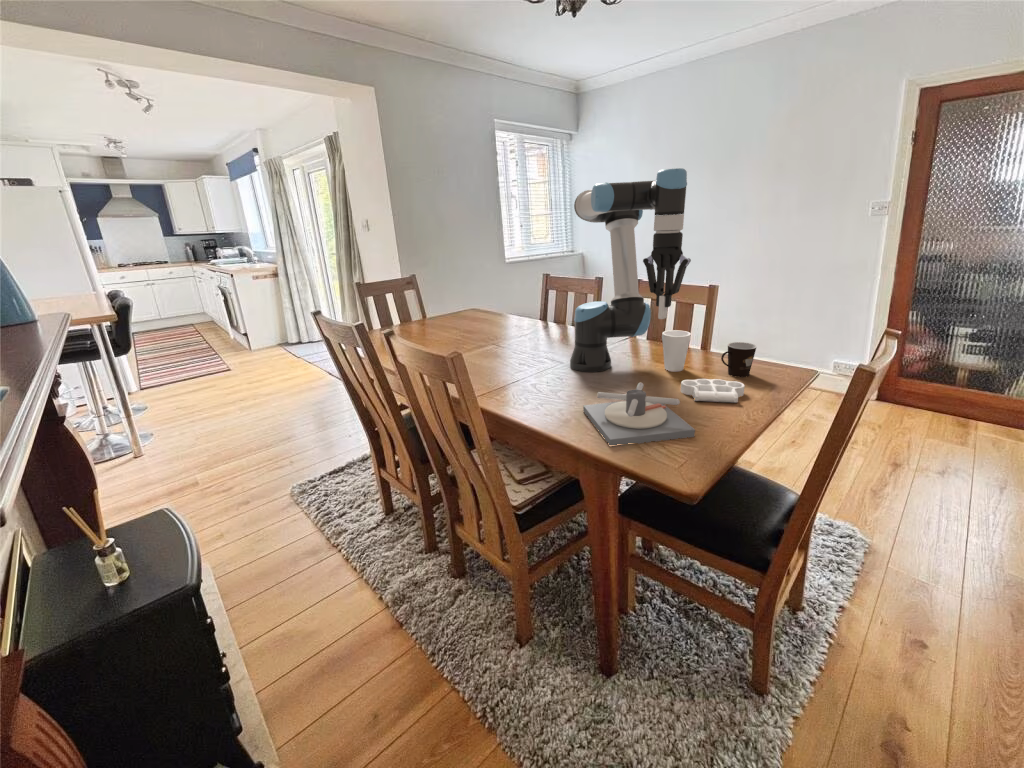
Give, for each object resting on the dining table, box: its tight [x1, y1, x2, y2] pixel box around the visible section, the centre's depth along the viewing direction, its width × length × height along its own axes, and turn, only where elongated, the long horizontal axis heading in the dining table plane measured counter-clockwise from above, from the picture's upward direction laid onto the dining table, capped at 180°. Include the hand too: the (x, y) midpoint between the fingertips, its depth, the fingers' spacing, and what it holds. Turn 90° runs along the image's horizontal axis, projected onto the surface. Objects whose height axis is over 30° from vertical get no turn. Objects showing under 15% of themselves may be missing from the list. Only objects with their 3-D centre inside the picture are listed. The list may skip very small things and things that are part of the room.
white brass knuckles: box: [680, 378, 746, 404], centre depth 139 cm, size 3×18×15 cm
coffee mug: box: [720, 341, 757, 378], centre depth 153 cm, size 12×9×10 cm
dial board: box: [582, 400, 696, 446], centre depth 123 cm, size 22×22×2 cm
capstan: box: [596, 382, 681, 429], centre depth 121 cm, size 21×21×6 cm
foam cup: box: [661, 329, 692, 373], centre depth 161 cm, size 10×9×13 cm
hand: (662, 318), depth 131 cm, fingers closed
